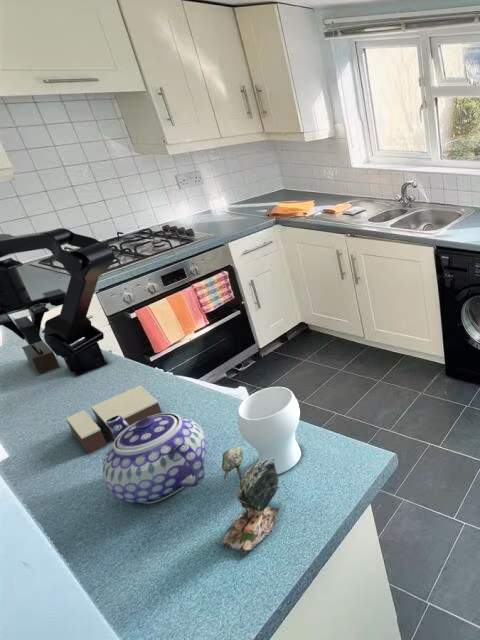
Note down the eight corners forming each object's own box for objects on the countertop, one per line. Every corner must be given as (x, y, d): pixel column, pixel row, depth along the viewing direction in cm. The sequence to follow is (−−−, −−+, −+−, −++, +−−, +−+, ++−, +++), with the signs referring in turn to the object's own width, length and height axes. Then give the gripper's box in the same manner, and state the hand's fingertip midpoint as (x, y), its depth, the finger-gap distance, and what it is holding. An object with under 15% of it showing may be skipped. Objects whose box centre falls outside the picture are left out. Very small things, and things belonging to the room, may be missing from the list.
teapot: (246, 472, 85) (228, 414, 80) (161, 541, 72) (133, 477, 66) (171, 432, 95) (150, 377, 89) (83, 486, 82) (53, 426, 76)
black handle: (41, 347, 118) (26, 315, 115) (49, 356, 114) (34, 324, 111) (28, 351, 116) (13, 319, 113) (37, 360, 112) (21, 328, 109)
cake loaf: (145, 399, 104) (140, 385, 103) (163, 416, 99) (157, 400, 98) (98, 422, 97) (91, 406, 95) (114, 440, 92) (107, 424, 91)
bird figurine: (301, 506, 78) (281, 422, 71) (241, 563, 69) (211, 473, 62) (272, 489, 82) (250, 407, 74) (211, 541, 72) (179, 453, 65)
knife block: (49, 355, 121) (42, 340, 119) (60, 367, 116) (53, 351, 114) (29, 362, 118) (21, 347, 116) (39, 374, 113) (31, 359, 111)
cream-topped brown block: (91, 425, 96) (84, 409, 95) (107, 444, 91) (99, 428, 90) (73, 433, 94) (65, 418, 92) (88, 453, 89) (80, 437, 87)
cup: (319, 451, 90) (307, 395, 85) (272, 490, 81) (256, 430, 76) (287, 433, 95) (274, 378, 89) (239, 468, 86) (222, 409, 81)
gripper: (48, 265, 119) (68, 313, 125) (-58, 289, 104) (-29, 343, 110) (60, 274, 113) (81, 324, 119) (-50, 301, 99) (-20, 357, 104)
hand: (31, 336), depth 113 cm, fingers closed on black handle, 2 cm apart
